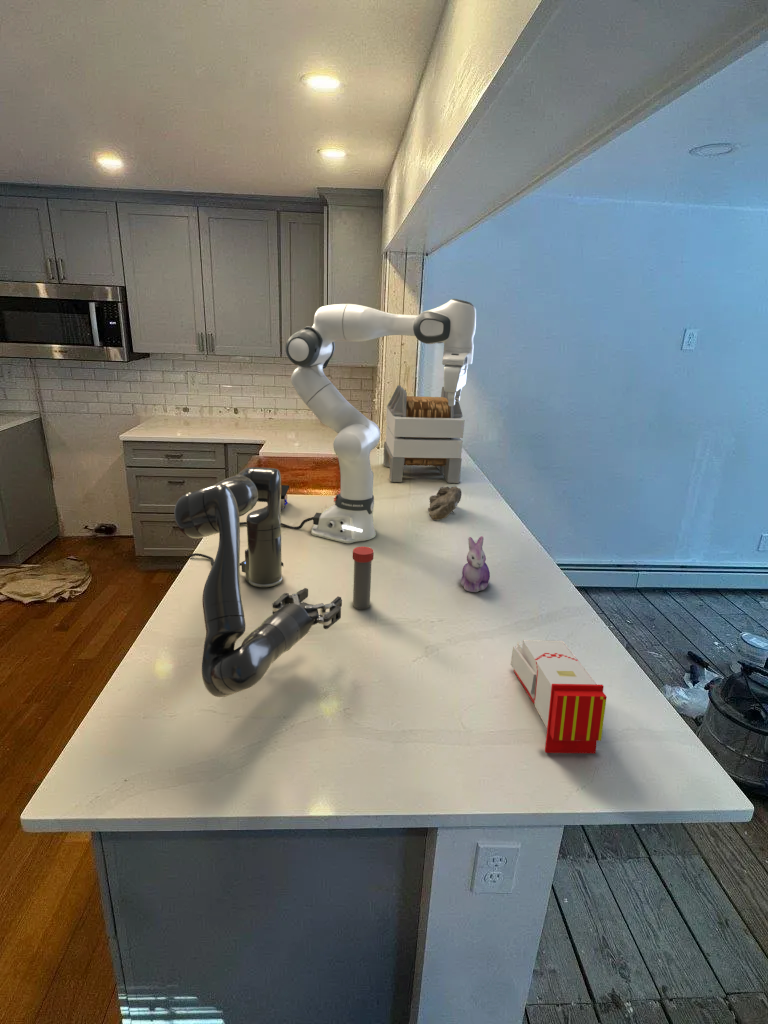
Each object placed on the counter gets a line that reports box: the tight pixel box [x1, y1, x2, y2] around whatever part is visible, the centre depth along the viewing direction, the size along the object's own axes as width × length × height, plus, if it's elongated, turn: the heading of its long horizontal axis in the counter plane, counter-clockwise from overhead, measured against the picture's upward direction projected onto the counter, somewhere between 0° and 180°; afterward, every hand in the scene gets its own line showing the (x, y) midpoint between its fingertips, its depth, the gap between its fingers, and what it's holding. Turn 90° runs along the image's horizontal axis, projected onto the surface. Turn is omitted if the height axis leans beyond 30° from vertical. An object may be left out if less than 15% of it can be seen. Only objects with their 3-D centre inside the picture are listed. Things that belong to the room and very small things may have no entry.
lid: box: [352, 546, 375, 563], centre depth 146 cm, size 5×5×2 cm
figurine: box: [460, 535, 491, 593], centre depth 162 cm, size 9×10×15 cm
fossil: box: [427, 486, 462, 521], centre depth 221 cm, size 22×10×15 cm
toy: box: [510, 639, 607, 754], centre depth 114 cm, size 12×13×30 cm
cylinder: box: [352, 560, 373, 610], centre depth 148 cm, size 4×4×16 cm
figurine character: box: [281, 484, 290, 512], centre depth 219 cm, size 7×8×15 cm
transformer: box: [383, 384, 465, 484], centre depth 268 cm, size 34×33×41 cm
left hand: (323, 596), depth 128 cm, fingers open, 8 cm apart
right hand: (454, 403), depth 174 cm, fingers open, 8 cm apart
